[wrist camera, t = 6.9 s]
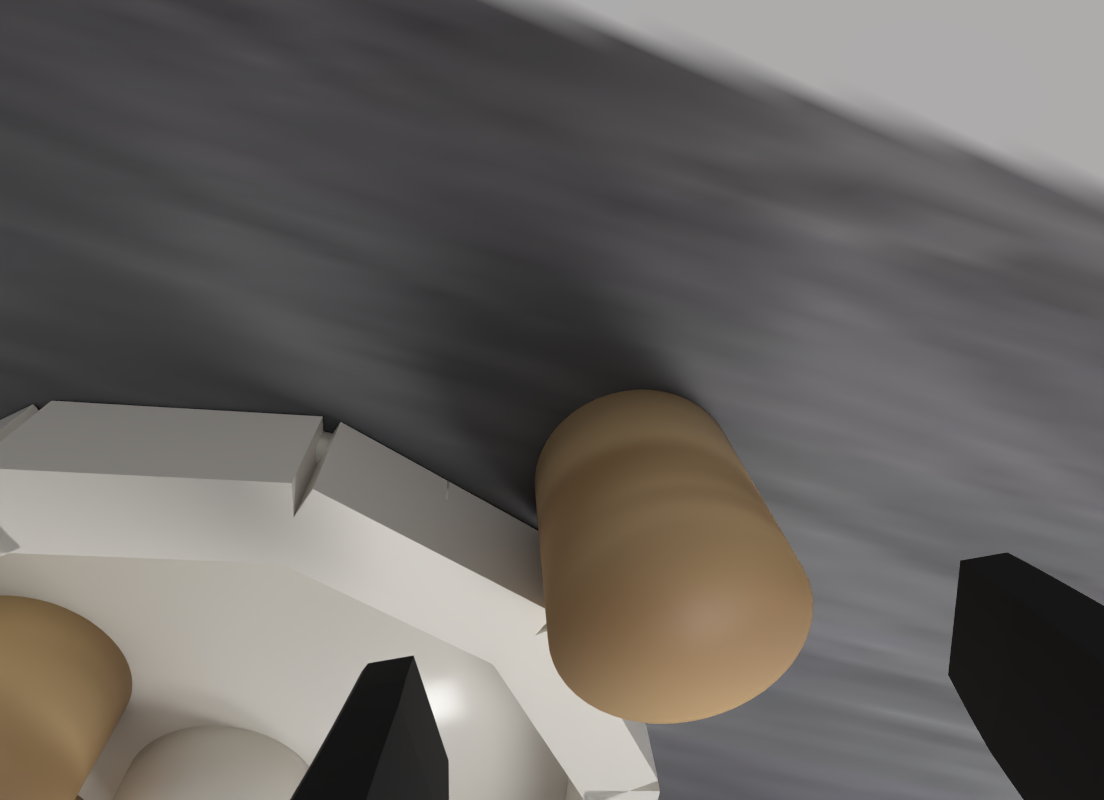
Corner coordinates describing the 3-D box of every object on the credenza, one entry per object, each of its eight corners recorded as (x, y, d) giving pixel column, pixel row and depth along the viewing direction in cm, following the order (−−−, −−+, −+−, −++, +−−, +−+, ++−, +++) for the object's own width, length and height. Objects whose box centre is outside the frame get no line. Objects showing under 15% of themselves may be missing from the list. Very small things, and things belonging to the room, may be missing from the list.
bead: (711, 564, 15) (778, 726, 12) (526, 555, 15) (535, 722, 11) (751, 396, 14) (844, 524, 10) (544, 381, 13) (562, 510, 10)
